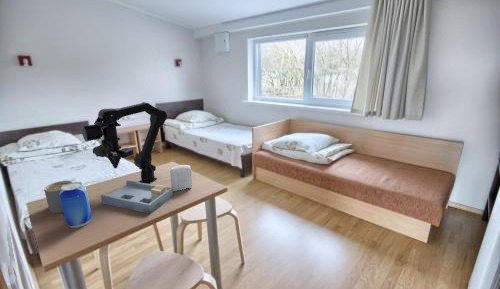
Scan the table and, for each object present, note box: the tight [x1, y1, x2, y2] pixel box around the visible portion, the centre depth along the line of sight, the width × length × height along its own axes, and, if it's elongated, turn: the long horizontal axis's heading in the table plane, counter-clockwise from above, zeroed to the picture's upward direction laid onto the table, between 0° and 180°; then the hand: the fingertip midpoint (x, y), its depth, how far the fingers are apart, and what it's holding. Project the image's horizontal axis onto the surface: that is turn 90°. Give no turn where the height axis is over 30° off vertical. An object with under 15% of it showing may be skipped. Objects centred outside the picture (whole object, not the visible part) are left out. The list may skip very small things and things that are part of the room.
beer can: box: [59, 181, 93, 229], centre depth 97 cm, size 8×8×16 cm
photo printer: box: [169, 164, 193, 192], centre depth 125 cm, size 10×4×12 cm, turn 116°
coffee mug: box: [43, 180, 73, 214], centre depth 108 cm, size 13×10×10 cm
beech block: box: [151, 184, 168, 198], centre depth 115 cm, size 5×5×4 cm
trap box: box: [100, 180, 174, 214], centre depth 116 cm, size 16×26×4 cm, turn 72°
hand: (115, 168), depth 121 cm, fingers closed
